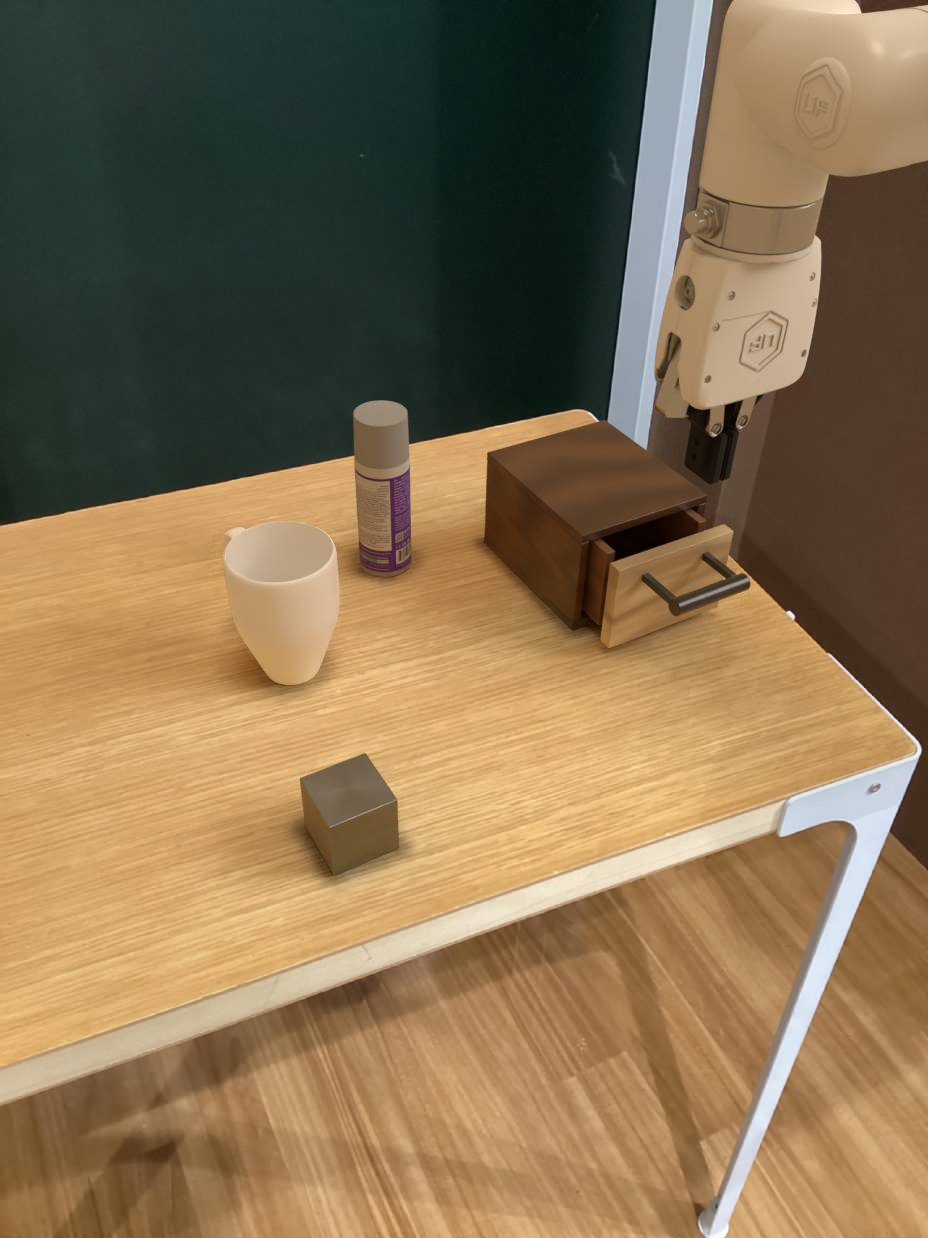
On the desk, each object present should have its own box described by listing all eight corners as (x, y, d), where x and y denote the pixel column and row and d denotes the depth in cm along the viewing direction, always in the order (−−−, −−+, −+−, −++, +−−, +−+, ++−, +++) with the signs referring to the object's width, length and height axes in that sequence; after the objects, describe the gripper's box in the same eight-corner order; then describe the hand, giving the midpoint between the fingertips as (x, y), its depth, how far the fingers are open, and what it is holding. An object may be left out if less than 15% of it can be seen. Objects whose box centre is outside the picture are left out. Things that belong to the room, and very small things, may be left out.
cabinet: (690, 587, 94) (707, 494, 88) (572, 630, 89) (582, 535, 83) (594, 507, 104) (604, 419, 98) (483, 542, 99) (487, 452, 93)
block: (368, 800, 75) (365, 752, 72) (399, 848, 71) (398, 799, 68) (304, 826, 73) (298, 777, 70) (333, 876, 69) (329, 828, 66)
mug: (365, 672, 85) (359, 554, 78) (277, 719, 81) (262, 599, 73) (281, 600, 92) (268, 487, 85) (196, 640, 88) (175, 524, 80)
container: (399, 542, 99) (395, 395, 90) (419, 569, 96) (418, 419, 86) (352, 554, 97) (343, 405, 88) (371, 582, 94) (364, 431, 85)
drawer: (756, 639, 88) (775, 562, 83) (645, 684, 83) (658, 606, 78) (623, 528, 100) (633, 455, 95) (520, 562, 95) (524, 487, 90)
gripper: (699, 258, 61) (655, 526, 72) (887, 218, 67) (818, 472, 78) (621, 217, 66) (592, 474, 77) (802, 184, 72) (749, 427, 83)
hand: (706, 472), depth 78 cm, fingers closed
